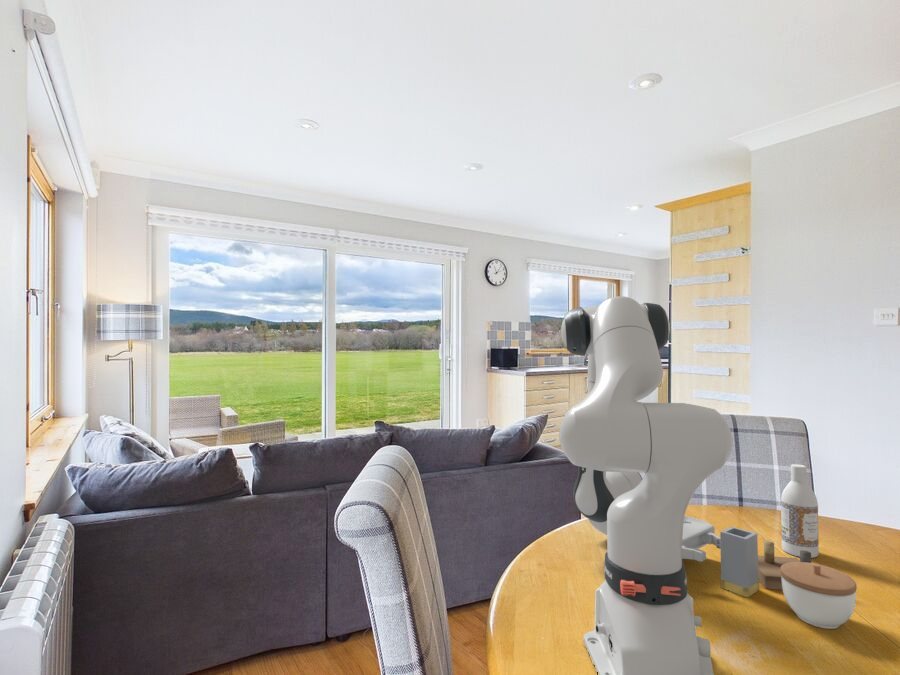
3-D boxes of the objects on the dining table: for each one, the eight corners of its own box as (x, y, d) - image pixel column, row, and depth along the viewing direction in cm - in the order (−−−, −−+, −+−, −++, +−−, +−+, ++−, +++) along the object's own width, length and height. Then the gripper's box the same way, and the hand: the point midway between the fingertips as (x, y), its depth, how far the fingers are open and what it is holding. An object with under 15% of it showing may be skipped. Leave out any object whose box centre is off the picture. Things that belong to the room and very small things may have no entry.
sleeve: (747, 597, 94) (746, 539, 94) (720, 587, 98) (719, 531, 98) (759, 589, 97) (758, 533, 97) (732, 580, 101) (731, 526, 101)
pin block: (822, 593, 96) (822, 559, 96) (765, 588, 98) (764, 555, 98) (797, 569, 105) (796, 539, 105) (745, 566, 107) (745, 536, 107)
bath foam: (799, 559, 110) (797, 470, 111) (774, 547, 117) (773, 462, 117) (826, 557, 111) (825, 468, 111) (800, 545, 118) (799, 461, 118)
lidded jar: (784, 597, 94) (783, 547, 94) (857, 616, 87) (856, 563, 88) (777, 621, 86) (776, 567, 86) (857, 645, 79) (856, 586, 79)
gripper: (625, 527, 106) (689, 547, 95) (676, 508, 118) (738, 524, 107) (626, 556, 106) (689, 581, 95) (677, 534, 118) (738, 554, 107)
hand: (715, 551), depth 101 cm, fingers open, 8 cm apart
